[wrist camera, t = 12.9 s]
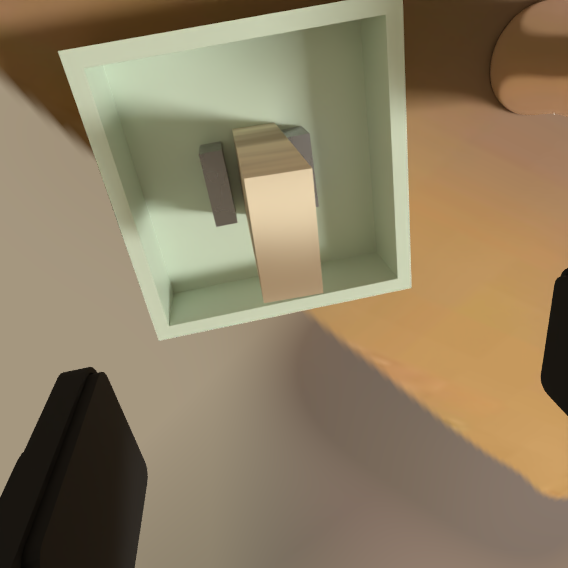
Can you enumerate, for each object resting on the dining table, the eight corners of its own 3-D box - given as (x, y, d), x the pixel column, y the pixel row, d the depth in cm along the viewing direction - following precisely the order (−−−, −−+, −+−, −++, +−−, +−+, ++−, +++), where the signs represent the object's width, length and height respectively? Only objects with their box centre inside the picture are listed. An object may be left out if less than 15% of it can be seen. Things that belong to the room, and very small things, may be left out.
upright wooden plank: (232, 128, 26) (243, 178, 16) (274, 122, 26) (312, 168, 16) (245, 214, 28) (263, 303, 18) (284, 208, 28) (323, 293, 18)
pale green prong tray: (86, 50, 24) (58, 51, 19) (368, 0, 25) (402, -10, 20) (166, 298, 31) (158, 340, 26) (383, 254, 32) (411, 287, 27)
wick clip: (199, 145, 26) (198, 154, 24) (301, 126, 26) (309, 133, 24) (215, 212, 28) (216, 226, 25) (310, 194, 28) (318, 206, 26)
